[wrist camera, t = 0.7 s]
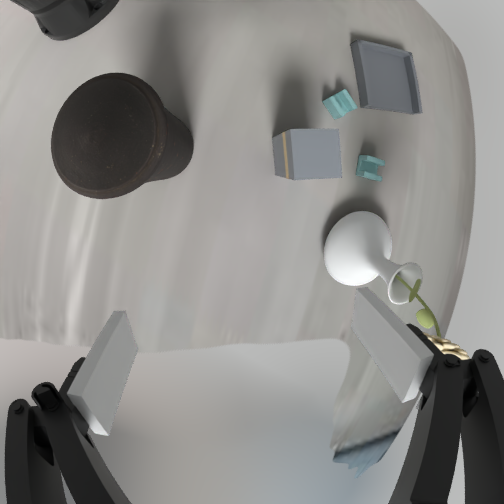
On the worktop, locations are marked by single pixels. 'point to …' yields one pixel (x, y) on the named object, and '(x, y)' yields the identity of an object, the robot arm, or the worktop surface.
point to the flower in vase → (378, 267)
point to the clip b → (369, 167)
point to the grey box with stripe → (307, 154)
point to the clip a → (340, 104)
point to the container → (117, 137)
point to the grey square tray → (386, 78)
